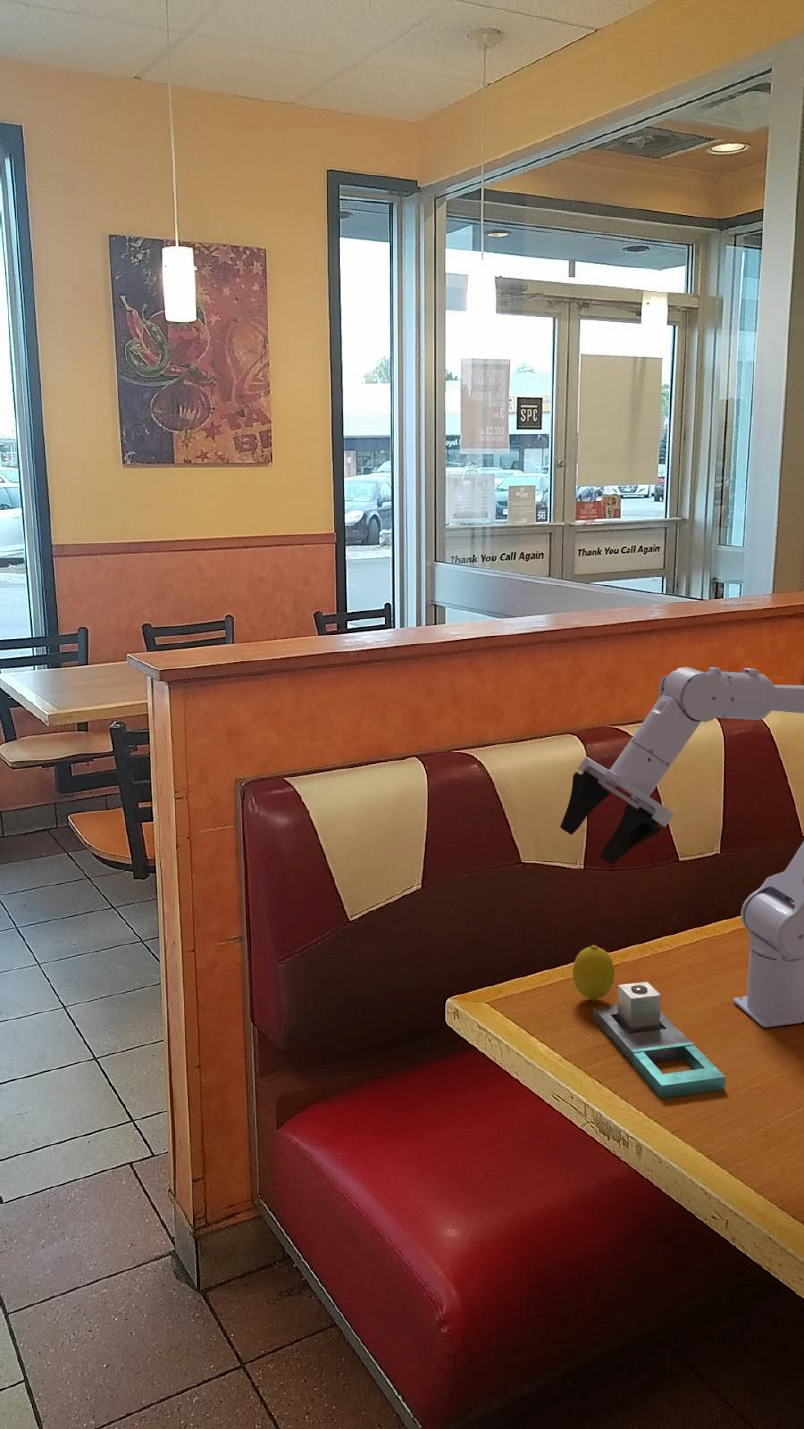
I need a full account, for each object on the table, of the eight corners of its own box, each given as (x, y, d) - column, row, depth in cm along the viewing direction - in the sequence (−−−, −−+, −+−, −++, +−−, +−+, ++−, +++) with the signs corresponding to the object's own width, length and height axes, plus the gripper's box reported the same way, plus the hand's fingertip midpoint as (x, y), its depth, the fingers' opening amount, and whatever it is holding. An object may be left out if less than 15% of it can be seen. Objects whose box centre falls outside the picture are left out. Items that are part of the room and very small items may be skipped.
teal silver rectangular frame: (649, 1012, 150) (650, 1000, 150) (724, 1089, 131) (725, 1075, 130) (593, 1018, 148) (593, 1007, 148) (661, 1098, 129) (661, 1084, 129)
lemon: (613, 1011, 150) (614, 955, 149) (571, 1008, 151) (572, 952, 150) (614, 993, 155) (615, 938, 154) (573, 990, 157) (574, 936, 155)
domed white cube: (645, 1024, 147) (647, 980, 145) (659, 1039, 143) (660, 993, 142) (616, 1028, 146) (618, 983, 144) (629, 1042, 142) (631, 997, 141)
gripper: (593, 717, 141) (530, 807, 141) (676, 767, 130) (608, 864, 130) (621, 740, 145) (561, 826, 146) (704, 790, 134) (638, 883, 135)
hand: (585, 845), depth 138 cm, fingers open, 7 cm apart
